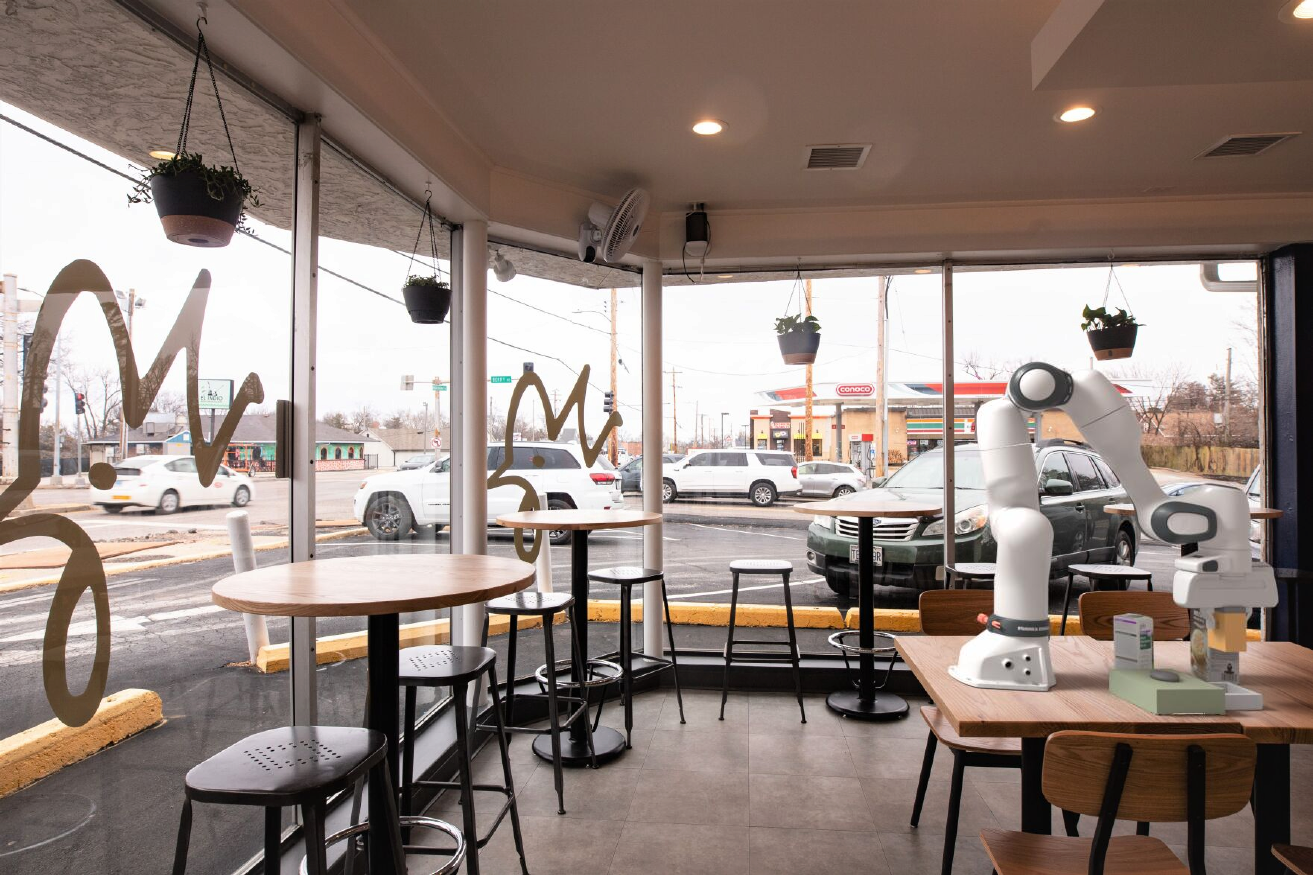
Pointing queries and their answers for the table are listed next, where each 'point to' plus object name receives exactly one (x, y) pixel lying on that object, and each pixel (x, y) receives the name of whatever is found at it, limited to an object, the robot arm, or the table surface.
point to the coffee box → (1210, 654)
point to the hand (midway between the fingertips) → (1226, 628)
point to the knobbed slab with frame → (1179, 692)
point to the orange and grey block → (1229, 630)
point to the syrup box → (1133, 642)
